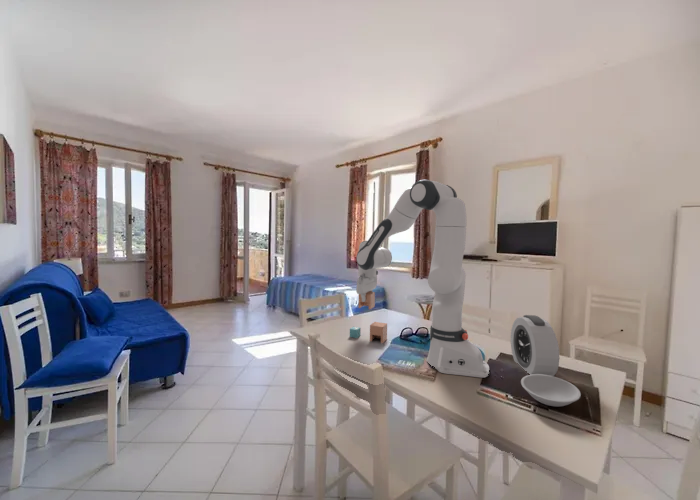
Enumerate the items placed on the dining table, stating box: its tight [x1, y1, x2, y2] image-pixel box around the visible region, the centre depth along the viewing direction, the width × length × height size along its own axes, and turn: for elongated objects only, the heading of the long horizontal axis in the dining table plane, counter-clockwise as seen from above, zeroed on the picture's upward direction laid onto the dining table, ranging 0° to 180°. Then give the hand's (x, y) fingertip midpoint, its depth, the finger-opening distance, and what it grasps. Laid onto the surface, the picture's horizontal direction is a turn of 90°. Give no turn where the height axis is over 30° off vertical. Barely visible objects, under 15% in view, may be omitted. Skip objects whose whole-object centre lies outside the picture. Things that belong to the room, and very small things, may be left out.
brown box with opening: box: [369, 321, 388, 344], centre depth 137 cm, size 6×6×8 cm
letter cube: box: [349, 326, 361, 339], centre depth 142 cm, size 4×4×4 cm
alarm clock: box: [510, 314, 560, 377], centre depth 109 cm, size 21×8×20 cm, turn 172°
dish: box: [520, 374, 582, 408], centre depth 86 cm, size 18×14×5 cm
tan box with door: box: [357, 291, 376, 310], centre depth 146 cm, size 6×6×8 cm
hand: (366, 300), depth 146 cm, fingers closed on tan box with door, 6 cm apart
